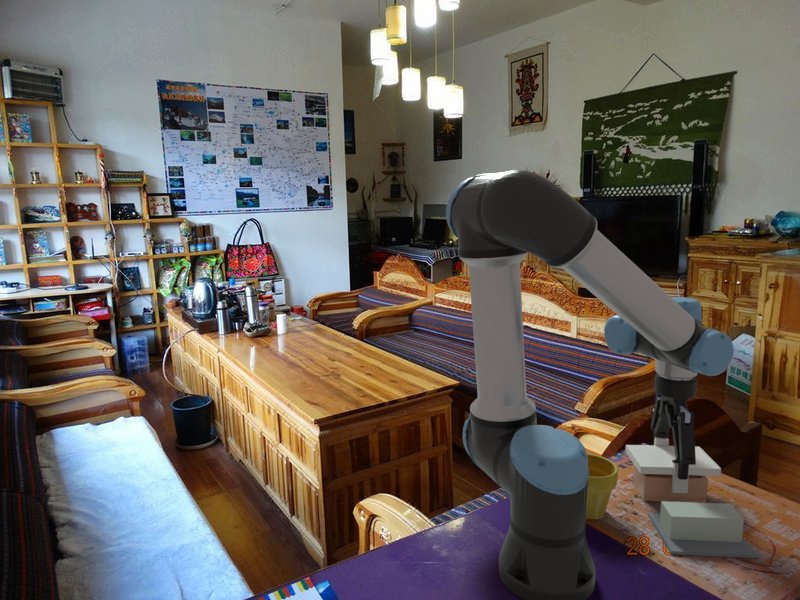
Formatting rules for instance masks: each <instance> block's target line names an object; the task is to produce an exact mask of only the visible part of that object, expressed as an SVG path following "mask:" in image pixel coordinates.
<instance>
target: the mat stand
mask: <svg viewBox="0 0 800 600" xmlns="http://www.w3.org/2000/svg"><path fill="white" fill-rule="evenodd" d="M659 511H660V512H647V516H649V517H650V519H651V520H650V519H649V520H650V522H651V521H652V522H651V523H653V524H654V525H653V524H652V525H653V527H654V526H655V527H654V528H656V529H657V530H656V529H655V530H656V532H657V531H658V532H657V534H658V533H659V534H660V535H659V534H658V535H659V537H660V536H661V537H660V539H661V540H662V541H664V542H663V543H664V545H665V544H666V545H665V546H667V547H666V548H667V550H668V551H670V552H669V553H670V555H673V554H677V555H680V556H697V557H701V556H703V557H723V558H725V557H726V558H742V559H743V558H744V559H745V558H746V559H759V553H758V552H757V551H756V550H755V549H754V548H753V547H752V545H751V544H750V543H749V542H748V541H747V540H746V539H745V537H744V536H743V534H744V533H743V531H744V523H745V522H744V521H745V518H743V516H742V515H741V514H740V512H738V510H736V508H735V507H734V506H733V505H732V504H731V503H723V502H722V503H721V502H717V503H716V502H715V503H714V502H706V503H696V502H667V501H660V510H659ZM649 517H648V518H649Z"/></svg>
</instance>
